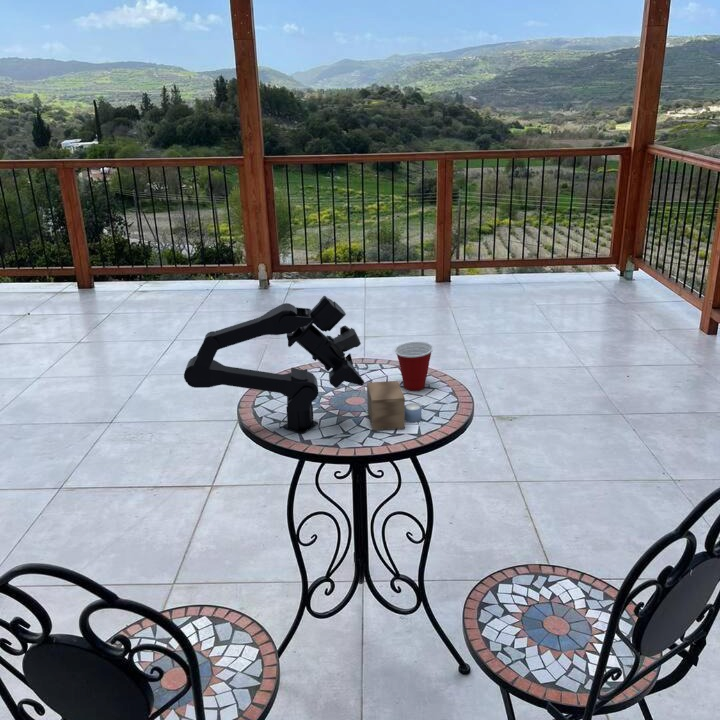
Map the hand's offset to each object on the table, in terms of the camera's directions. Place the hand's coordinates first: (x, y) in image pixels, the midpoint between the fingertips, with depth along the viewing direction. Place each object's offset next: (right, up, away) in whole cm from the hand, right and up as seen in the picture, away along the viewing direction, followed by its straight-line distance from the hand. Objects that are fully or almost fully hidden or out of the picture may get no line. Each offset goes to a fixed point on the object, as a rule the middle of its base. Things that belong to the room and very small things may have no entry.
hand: (363, 383), depth 168 cm
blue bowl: (+13, -9, +5) cm, 16 cm away
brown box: (+6, -9, +4) cm, 12 cm away
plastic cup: (+14, -2, +24) cm, 28 cm away
